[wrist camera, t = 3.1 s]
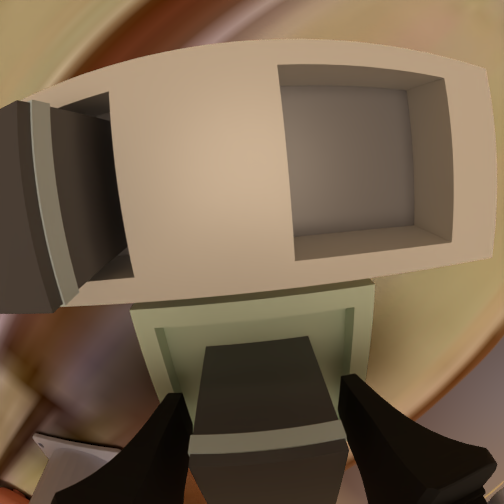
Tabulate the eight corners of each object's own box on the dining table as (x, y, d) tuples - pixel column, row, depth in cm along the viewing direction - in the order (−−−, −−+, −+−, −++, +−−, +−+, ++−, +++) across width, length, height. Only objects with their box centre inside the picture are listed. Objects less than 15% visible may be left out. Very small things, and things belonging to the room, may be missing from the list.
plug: (308, 406, 13) (335, 508, 8) (220, 415, 13) (216, 520, 8) (309, 334, 12) (350, 448, 6) (204, 345, 12) (186, 465, 6)
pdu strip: (447, 236, 12) (491, 257, 9) (22, 280, 12) (-17, 308, 9) (439, 81, 10) (485, 68, 7) (-3, 138, 10) (-49, 139, 7)
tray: (347, 418, 15) (354, 439, 13) (186, 435, 15) (183, 457, 13) (360, 269, 12) (375, 284, 11) (141, 292, 12) (129, 310, 11)
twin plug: (140, 239, 11) (55, 315, 5) (49, 251, 11) (-48, 314, 5) (124, 122, 10) (19, 97, 4) (33, 149, 10) (-79, 159, 4)
